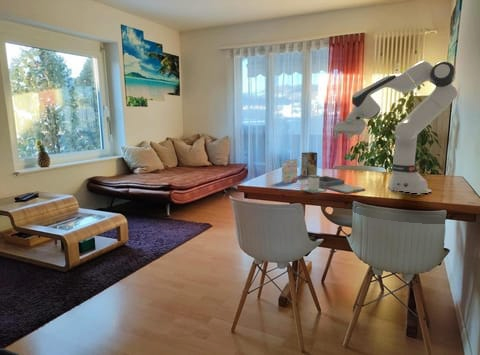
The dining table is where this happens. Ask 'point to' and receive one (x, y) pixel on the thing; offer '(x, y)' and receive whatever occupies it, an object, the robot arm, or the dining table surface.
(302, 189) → the pad
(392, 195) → the dining table surface
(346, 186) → the equipment case
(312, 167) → the coffee box
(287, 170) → the ink cartridge box
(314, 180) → the block
